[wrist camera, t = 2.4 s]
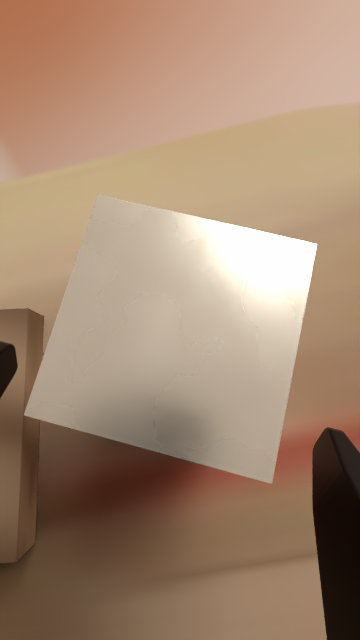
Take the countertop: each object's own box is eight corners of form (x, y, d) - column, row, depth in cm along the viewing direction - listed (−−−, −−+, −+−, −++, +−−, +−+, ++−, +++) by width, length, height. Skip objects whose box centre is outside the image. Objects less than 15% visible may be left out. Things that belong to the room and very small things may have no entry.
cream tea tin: (221, 428, 18) (271, 483, 8) (116, 399, 19) (23, 415, 8) (244, 323, 20) (317, 244, 9) (145, 299, 20) (98, 194, 9)
